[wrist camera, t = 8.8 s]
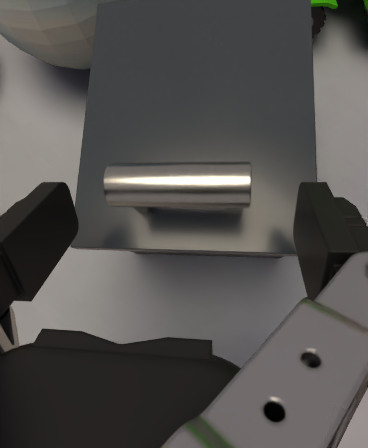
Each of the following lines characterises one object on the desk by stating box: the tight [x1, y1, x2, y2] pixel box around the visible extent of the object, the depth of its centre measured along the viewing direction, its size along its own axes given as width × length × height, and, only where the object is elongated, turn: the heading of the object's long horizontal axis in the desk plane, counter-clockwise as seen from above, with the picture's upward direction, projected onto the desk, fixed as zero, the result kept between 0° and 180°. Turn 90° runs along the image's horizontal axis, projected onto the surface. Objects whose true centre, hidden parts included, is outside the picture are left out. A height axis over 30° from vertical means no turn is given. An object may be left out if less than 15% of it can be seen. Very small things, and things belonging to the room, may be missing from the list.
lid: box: [71, 0, 317, 256], centre depth 14 cm, size 13×11×5 cm
